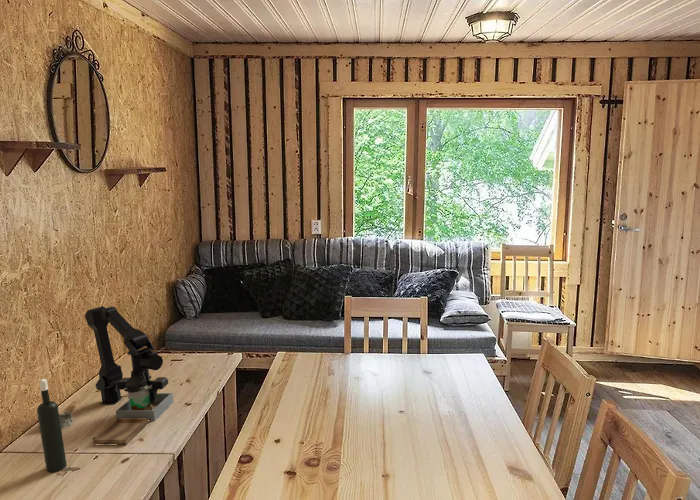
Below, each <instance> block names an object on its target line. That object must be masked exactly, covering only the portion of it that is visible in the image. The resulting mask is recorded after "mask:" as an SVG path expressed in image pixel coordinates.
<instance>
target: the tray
mask: <svg viewBox="0 0 700 500" xmlns="http://www.w3.org/2000/svg"><path fill="white" fill-rule="evenodd" d="M149 423H150V421H148V418H117V417H116V419H115V420H114V421H112V423H110V424H109V425H108V426H107V427H106V428H104V429H103V430H102V431H101V432H100V433H99V434H98V435H97V436H95V437H94V438H93V439H92V442H93V446H96V445H95V444H117V445H116V446H127V445H128V444H129V443H130V442H131V441H132V440H133V439H134V438H136V436H138V435H139V433H140V432H141V431H143V430H144V429H145V427H146V426H147V425H148V424H149Z"/></svg>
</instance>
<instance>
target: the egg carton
mask: <svg viewBox="0 0 700 500" xmlns="http://www.w3.org/2000/svg"><path fill="white" fill-rule="evenodd" d="M59 419H60V425H61V429H66V428H67V427H70V426H71V423H73V422H74V419H73V410H68V411H64V412H63V413H59Z"/></svg>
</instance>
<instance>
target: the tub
mask: <svg viewBox="0 0 700 500" xmlns="http://www.w3.org/2000/svg"><path fill="white" fill-rule="evenodd" d="M173 403H174V395H173V392H157V394H156V397H155V400H154V403H153V404H158V405H157V406H156V407H155V408H153V410H131V405H130V401H129V399H128V400H127V401H126V402H125V403H123V404H122V405H121V406H120V407H118V408H117V409H116V410H115V416H116V417H115V418H116V419H117V418H148V420H154V421H153V422H155V421H157V420H158V419H159V418H160V417H161V415H163V413H165V412H166V411H167V409H169V407H170V406H171V405H172V404H173Z"/></svg>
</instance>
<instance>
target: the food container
mask: <svg viewBox="0 0 700 500" xmlns="http://www.w3.org/2000/svg"><path fill="white" fill-rule="evenodd" d="M150 388H151V386H145V387H144V388H141V389H140V391H138V392H132V393H129V392H127V393H128V394H127V399H128V400H129V401H130V405H131V410H152V409H153V410H154V408H153V405H154V404H151V400H150V392H149V391H148V390H149V389H150Z"/></svg>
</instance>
